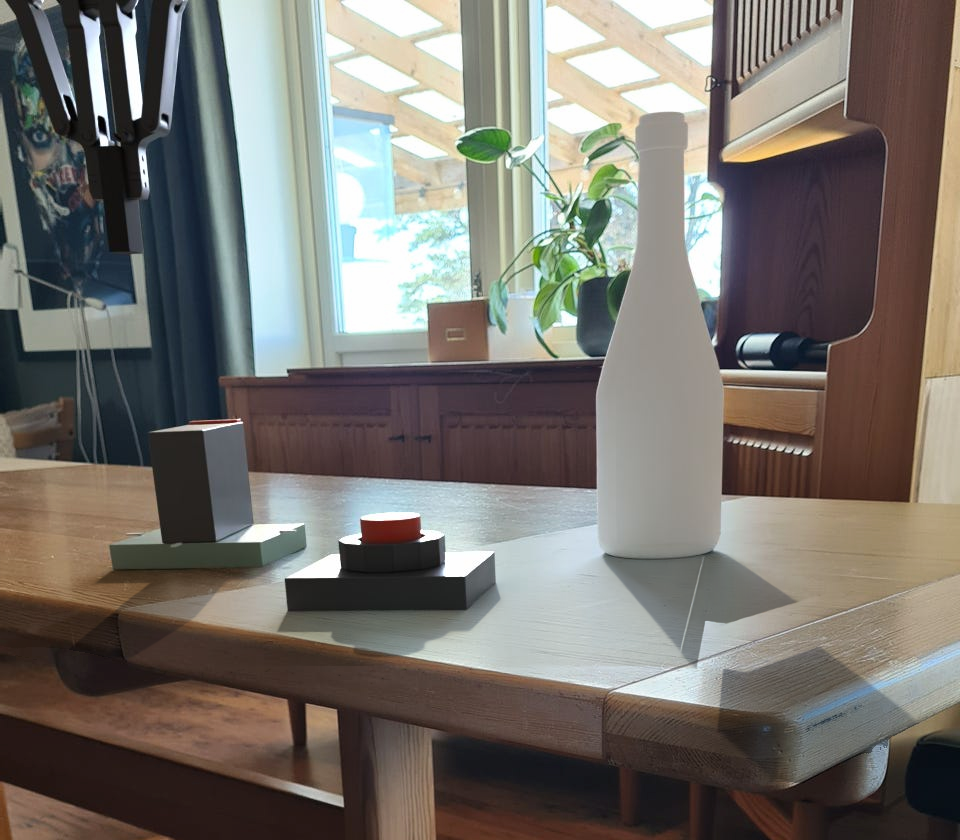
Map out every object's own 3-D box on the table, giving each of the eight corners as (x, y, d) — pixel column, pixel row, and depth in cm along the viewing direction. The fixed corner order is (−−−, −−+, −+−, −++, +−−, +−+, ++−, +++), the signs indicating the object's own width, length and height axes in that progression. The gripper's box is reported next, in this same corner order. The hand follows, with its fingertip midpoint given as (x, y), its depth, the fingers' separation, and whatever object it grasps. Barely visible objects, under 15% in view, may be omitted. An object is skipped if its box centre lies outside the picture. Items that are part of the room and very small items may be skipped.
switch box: (287, 612, 84) (281, 550, 82) (333, 585, 93) (328, 528, 91) (466, 611, 81) (463, 546, 80) (496, 583, 90) (493, 525, 89)
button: (354, 548, 84) (352, 520, 84) (371, 539, 88) (369, 513, 87) (413, 547, 83) (411, 519, 83) (427, 538, 87) (426, 511, 86)
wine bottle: (647, 539, 107) (648, 130, 96) (744, 547, 100) (757, 110, 89) (572, 555, 100) (565, 119, 89) (671, 564, 94) (676, 97, 83)
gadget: (216, 541, 102) (202, 426, 99) (161, 543, 103) (146, 429, 100) (254, 523, 112) (242, 418, 109) (204, 525, 113) (192, 421, 110)
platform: (88, 574, 103) (83, 546, 102) (167, 546, 117) (163, 521, 116) (266, 571, 100) (263, 543, 99) (326, 543, 114) (324, 518, 113)
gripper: (197, -143, 84) (232, 252, 93) (9, -129, 86) (61, 259, 95) (157, -186, 77) (199, 246, 86) (-47, -170, 79) (15, 253, 88)
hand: (126, 252), depth 90 cm, fingers closed
